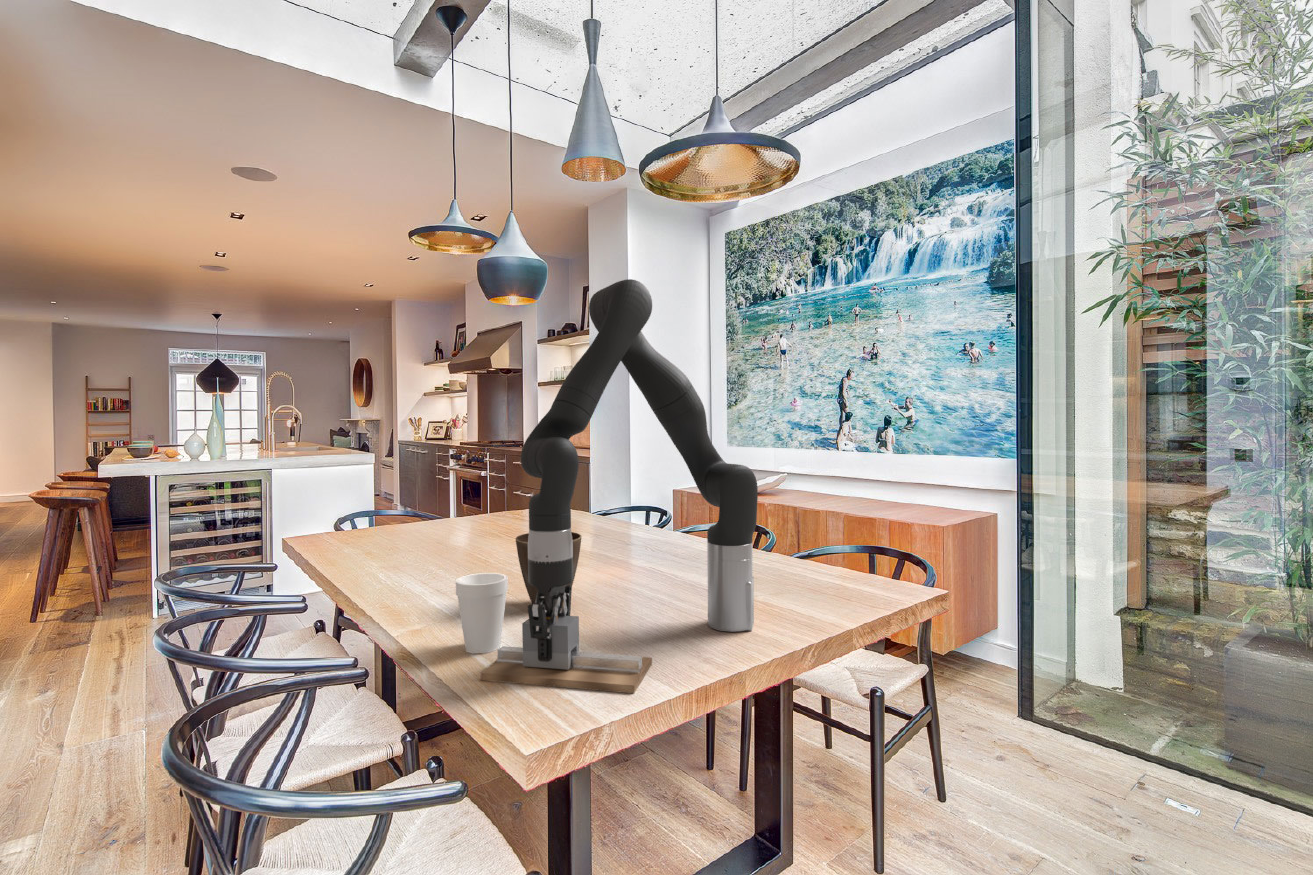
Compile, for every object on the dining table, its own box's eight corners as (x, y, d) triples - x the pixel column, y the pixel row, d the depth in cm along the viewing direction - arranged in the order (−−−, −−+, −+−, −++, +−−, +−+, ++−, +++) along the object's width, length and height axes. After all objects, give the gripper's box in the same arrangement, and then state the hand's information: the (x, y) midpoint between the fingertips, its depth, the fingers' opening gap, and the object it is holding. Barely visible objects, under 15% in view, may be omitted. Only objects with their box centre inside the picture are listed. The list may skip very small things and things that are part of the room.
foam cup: (481, 660, 115) (479, 587, 114) (445, 650, 120) (444, 581, 119) (519, 644, 123) (517, 576, 122) (484, 636, 128) (483, 570, 127)
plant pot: (594, 607, 146) (593, 537, 146) (533, 620, 138) (532, 545, 137) (563, 593, 159) (563, 528, 158) (506, 604, 150) (505, 535, 149)
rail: (642, 667, 108) (642, 655, 108) (638, 673, 105) (638, 661, 105) (503, 656, 113) (503, 645, 113) (496, 662, 110) (496, 650, 110)
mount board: (651, 664, 112) (651, 657, 112) (634, 693, 100) (634, 685, 100) (512, 653, 118) (512, 647, 118) (480, 679, 106) (480, 672, 106)
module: (579, 657, 111) (578, 611, 111) (568, 669, 106) (567, 621, 106) (535, 654, 113) (535, 609, 113) (523, 665, 108) (522, 618, 108)
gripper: (555, 565, 101) (557, 672, 102) (585, 547, 115) (586, 641, 116) (511, 563, 103) (512, 668, 103) (546, 546, 117) (547, 638, 117)
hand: (551, 653), depth 110 cm, fingers closed on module, 5 cm apart
